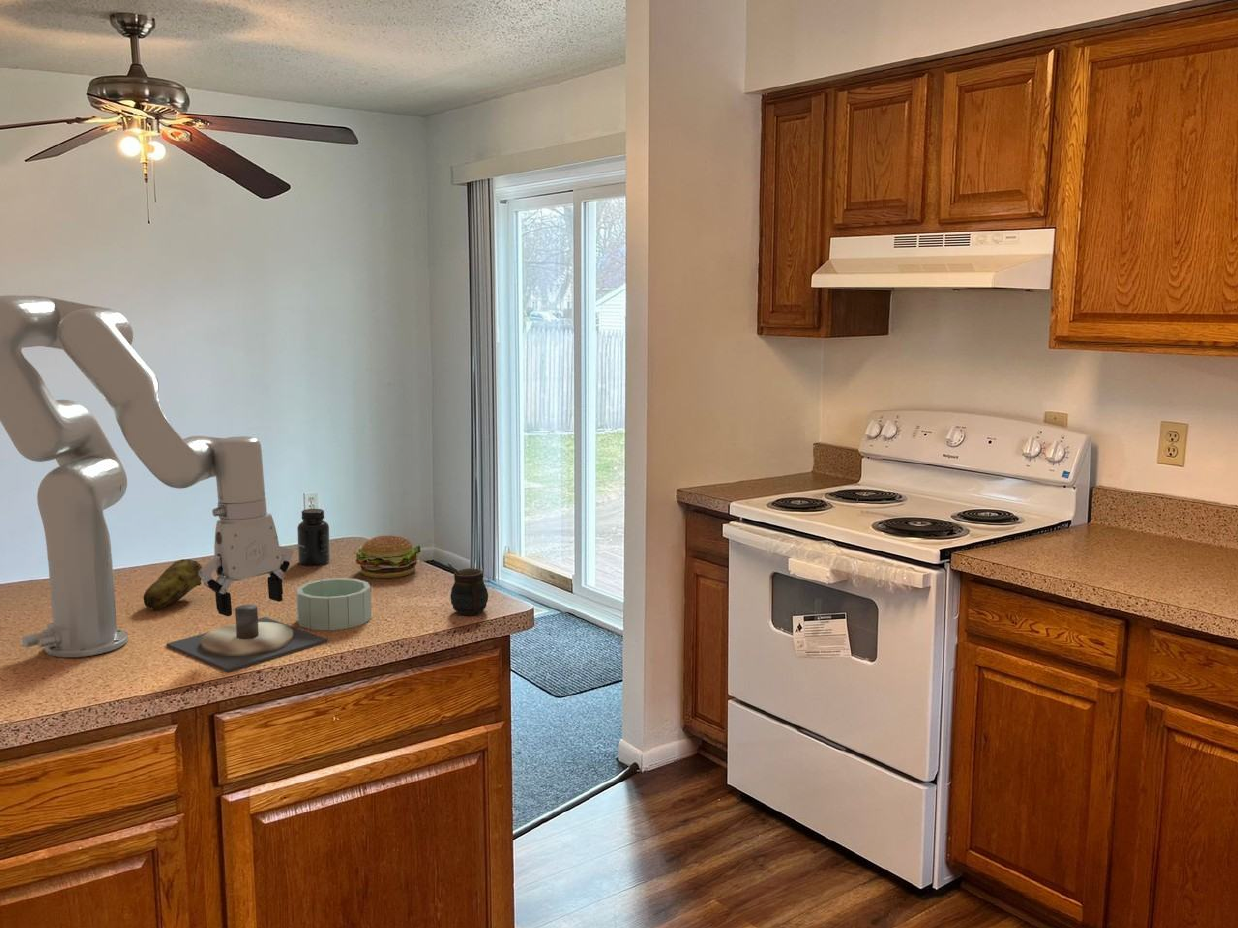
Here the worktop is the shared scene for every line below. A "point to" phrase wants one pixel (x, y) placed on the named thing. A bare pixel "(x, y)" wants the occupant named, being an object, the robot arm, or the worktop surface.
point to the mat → (232, 663)
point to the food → (387, 557)
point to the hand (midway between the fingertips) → (251, 607)
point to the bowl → (333, 604)
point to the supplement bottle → (313, 538)
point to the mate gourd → (468, 591)
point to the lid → (246, 635)
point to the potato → (173, 584)
